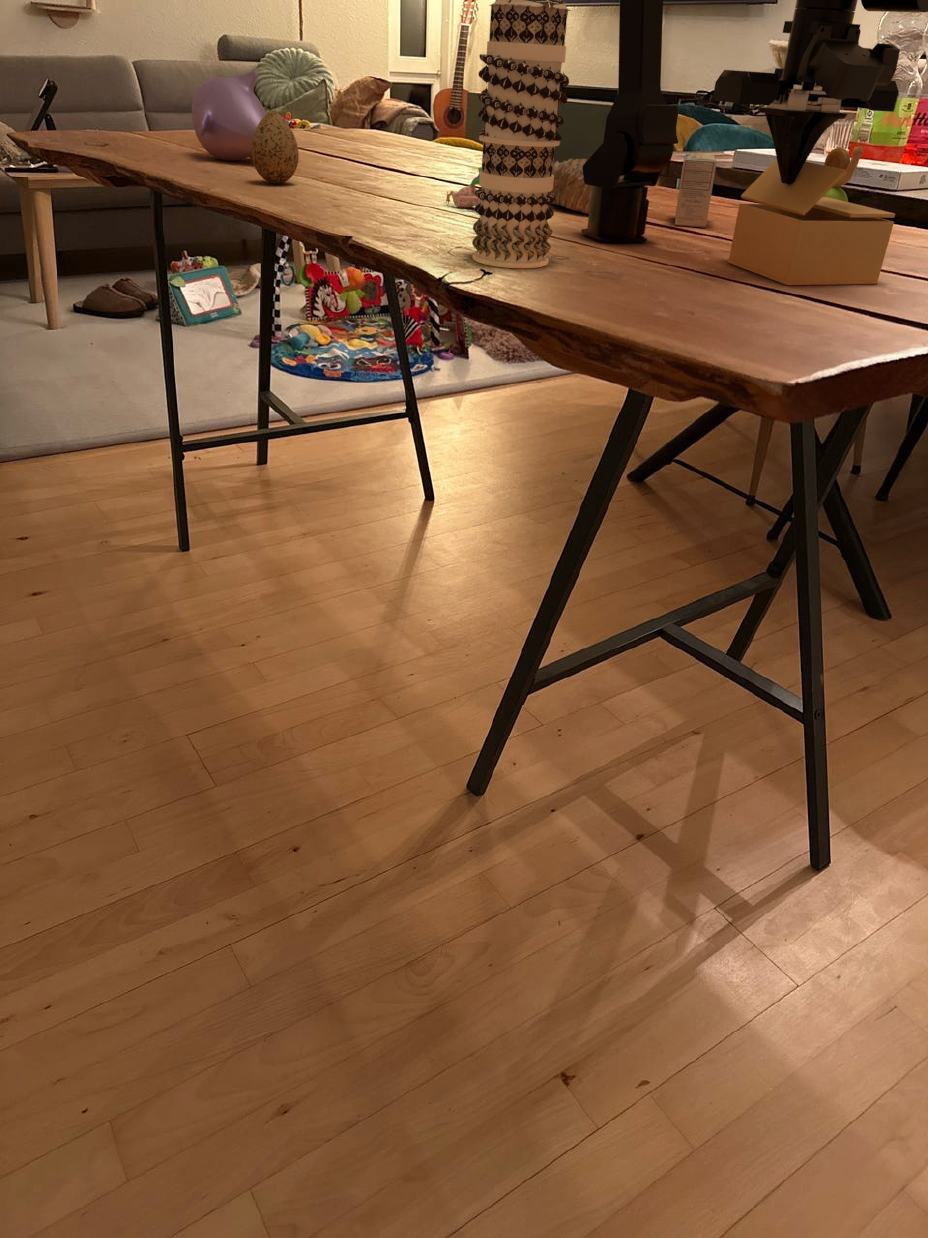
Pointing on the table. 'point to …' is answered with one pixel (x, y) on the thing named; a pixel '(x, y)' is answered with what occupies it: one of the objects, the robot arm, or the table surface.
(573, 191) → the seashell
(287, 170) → the decorative egg
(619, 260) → the table surface
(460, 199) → the pink radish
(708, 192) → the medicine box
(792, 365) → the table surface
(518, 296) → the table surface
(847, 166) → the snail figurine
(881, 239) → the carton
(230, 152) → the toy whale
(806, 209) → the flap
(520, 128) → the bracelet display stand
